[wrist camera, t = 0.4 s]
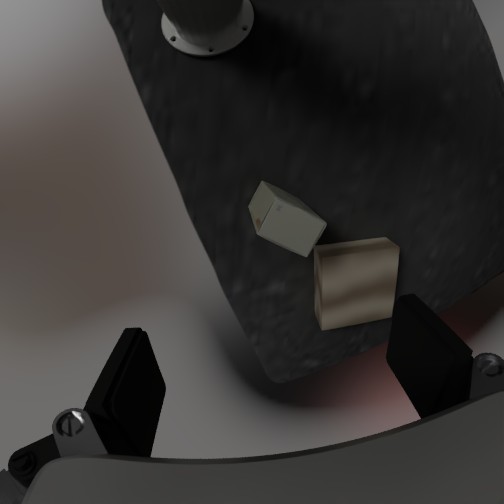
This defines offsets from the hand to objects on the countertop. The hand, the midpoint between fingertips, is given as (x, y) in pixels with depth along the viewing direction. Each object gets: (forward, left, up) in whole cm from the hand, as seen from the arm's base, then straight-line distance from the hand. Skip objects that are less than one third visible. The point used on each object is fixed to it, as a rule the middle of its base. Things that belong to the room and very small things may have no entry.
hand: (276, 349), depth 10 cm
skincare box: (+2, +4, -32) cm, 32 cm away
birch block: (+15, +15, -32) cm, 38 cm away
